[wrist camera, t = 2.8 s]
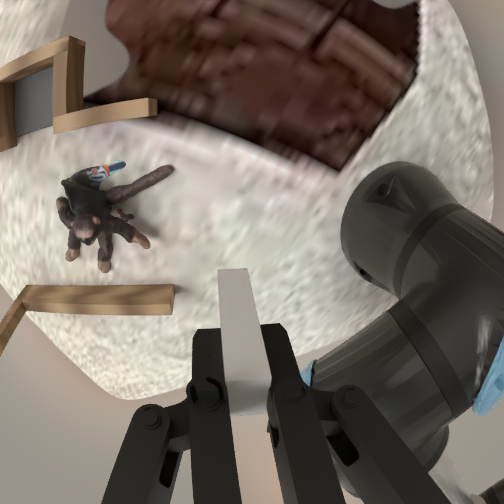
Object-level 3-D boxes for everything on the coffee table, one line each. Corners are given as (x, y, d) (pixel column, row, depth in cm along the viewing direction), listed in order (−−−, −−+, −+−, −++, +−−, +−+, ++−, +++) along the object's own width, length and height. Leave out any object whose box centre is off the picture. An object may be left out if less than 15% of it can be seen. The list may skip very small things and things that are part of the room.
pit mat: (69, 61, 16) (67, 60, 16) (68, 120, 19) (67, 120, 19) (16, 82, 15) (15, 82, 15) (17, 136, 18) (16, 137, 18)
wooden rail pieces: (159, 26, 16) (120, -29, 6) (174, 294, 30) (164, 381, 20) (-11, 85, 14) (-82, 97, 3) (30, 294, 28) (-8, 356, 17)
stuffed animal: (42, 246, 24) (26, 189, 15) (83, 183, 29) (93, 115, 20) (126, 293, 28) (147, 259, 19) (158, 226, 33) (192, 171, 24)
